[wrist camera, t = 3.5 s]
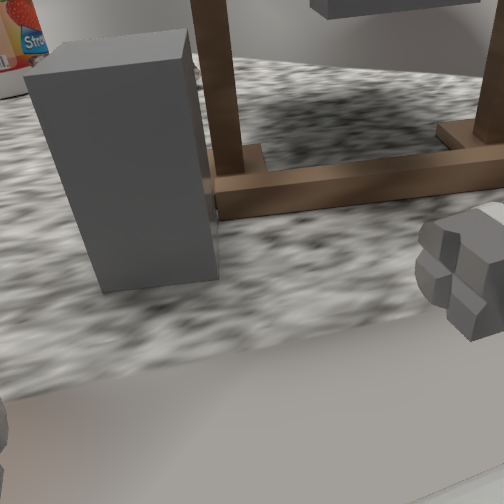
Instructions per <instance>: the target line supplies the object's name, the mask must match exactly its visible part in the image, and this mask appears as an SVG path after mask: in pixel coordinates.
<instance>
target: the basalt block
mask: <svg viewBox="0 0 504 504" xmlns="http://www.w3.org/2000/svg"><path fill="white" fill-rule="evenodd" d="M23 78H24V81H25V84H26V87H27V89H28V92H29V95H30V97H31V100H32V103H33V106H34V108H35V111H36V114H37V116H38V119H39V122H40V125H41V127H42V130H43V133H44V135H45V138H46V141H47V144H48V146H49V149H50V152H51V154H52V157H53V160H54V163H55V165H56V168H57V171H58V173H59V176H60V179H61V182H62V184H63V187H64V190H65V193H66V195H67V198H68V201H69V203H70V206H71V209H72V212H73V214H74V217H75V220H76V222H77V225H78V228H79V231H80V233H81V236H82V239H83V241H84V244H85V247H86V250H87V252H88V255H89V258H90V260H91V263H92V266H93V269H94V271H95V274H96V277H97V279H98V282H99V285H100V288H101V290H102V293H109V292H117V291H126V290H134V289H143V288H151V287H160V286H168V285H177V284H185V283H194V282H202V281H210V280H219V254H218V218H217V212H216V205H215V199H214V193H213V186H212V180H211V174H210V167H209V161H208V155H207V148H206V142H205V136H204V130H203V123H202V117H201V111H200V104H199V98H198V92H197V85H196V79H195V73H194V66H193V60H192V54H191V47H190V41H189V35H188V29H187V28H185V29H176V30H168V31H159V32H151V33H141V34H133V35H124V36H115V37H106V38H98V39H89V40H81V41H71V42H64V43H62V44H61V45H60V46H59V47H57V48H56V49H55V50H54V51H53V52H51V53H50V54H49V55H48V56H47V57H45V58H44V59H43V60H42V61H41V62H39V63H38V64H37V65H36V66H35V67H33V68H32V69H31V70H30V71H29V72H27V73H26V74H25V75H24V76H23Z"/></svg>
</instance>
